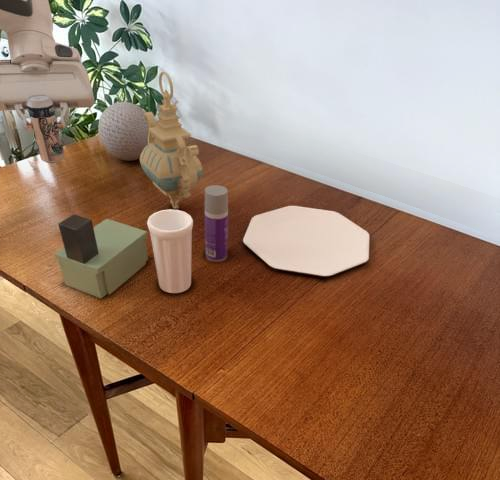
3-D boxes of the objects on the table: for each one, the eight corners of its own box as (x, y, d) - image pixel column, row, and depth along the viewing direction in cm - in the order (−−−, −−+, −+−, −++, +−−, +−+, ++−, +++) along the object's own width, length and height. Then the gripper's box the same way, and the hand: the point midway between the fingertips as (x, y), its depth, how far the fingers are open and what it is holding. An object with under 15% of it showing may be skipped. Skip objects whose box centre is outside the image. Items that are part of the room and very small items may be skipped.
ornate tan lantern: (219, 224, 109) (219, 85, 88) (175, 237, 104) (164, 92, 84) (174, 183, 123) (165, 55, 103) (133, 193, 118) (115, 60, 98)
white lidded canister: (55, 166, 94) (40, 103, 86) (36, 161, 96) (19, 99, 87) (70, 157, 98) (56, 96, 90) (51, 153, 99) (36, 92, 91)
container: (229, 260, 98) (231, 194, 88) (208, 263, 97) (207, 196, 87) (224, 248, 102) (225, 183, 91) (203, 251, 100) (201, 185, 90)
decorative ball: (167, 159, 134) (162, 104, 124) (123, 174, 126) (115, 116, 116) (135, 144, 141) (129, 91, 131) (92, 157, 133) (82, 101, 123)
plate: (258, 205, 117) (259, 200, 116) (368, 221, 113) (370, 216, 112) (233, 267, 97) (233, 261, 96) (366, 288, 93) (368, 282, 92)
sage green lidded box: (62, 283, 90) (53, 253, 85) (112, 247, 100) (106, 218, 95) (103, 300, 87) (97, 269, 82) (150, 260, 97) (147, 231, 92)
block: (66, 257, 84) (57, 223, 80) (82, 247, 87) (74, 213, 82) (84, 264, 83) (76, 229, 78) (98, 253, 86) (91, 219, 81)
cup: (197, 296, 89) (194, 231, 79) (154, 299, 88) (146, 233, 78) (194, 271, 95) (191, 208, 85) (154, 274, 94) (146, 209, 84)
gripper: (-29, 50, 86) (-17, 123, 86) (86, 49, 91) (96, 118, 91) (-17, 70, 92) (-7, 138, 92) (89, 68, 97) (99, 133, 97)
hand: (45, 128), depth 92 cm, fingers closed on white lidded canister, 5 cm apart
